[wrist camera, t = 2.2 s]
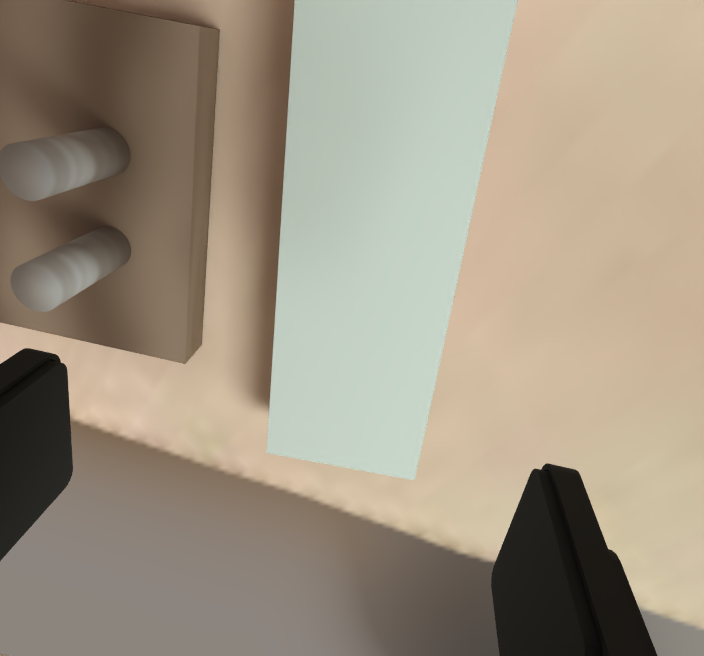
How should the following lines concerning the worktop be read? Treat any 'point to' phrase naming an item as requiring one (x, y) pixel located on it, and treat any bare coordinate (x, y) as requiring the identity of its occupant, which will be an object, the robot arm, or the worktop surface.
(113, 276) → the peg stand
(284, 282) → the shelf board
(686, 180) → the worktop surface
